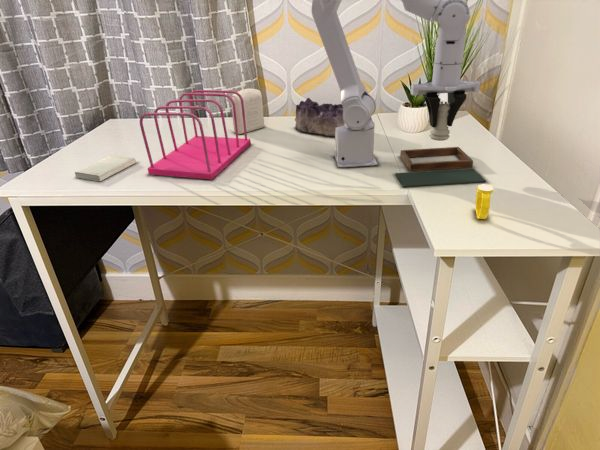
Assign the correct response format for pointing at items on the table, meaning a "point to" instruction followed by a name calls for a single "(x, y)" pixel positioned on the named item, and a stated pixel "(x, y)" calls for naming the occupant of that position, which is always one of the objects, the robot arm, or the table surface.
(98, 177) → the hard drive
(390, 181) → the table surface
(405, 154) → the desk tray
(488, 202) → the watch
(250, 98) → the white rounded block
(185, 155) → the file sorter
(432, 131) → the rook chess piece
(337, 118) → the geode
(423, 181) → the desk mat
